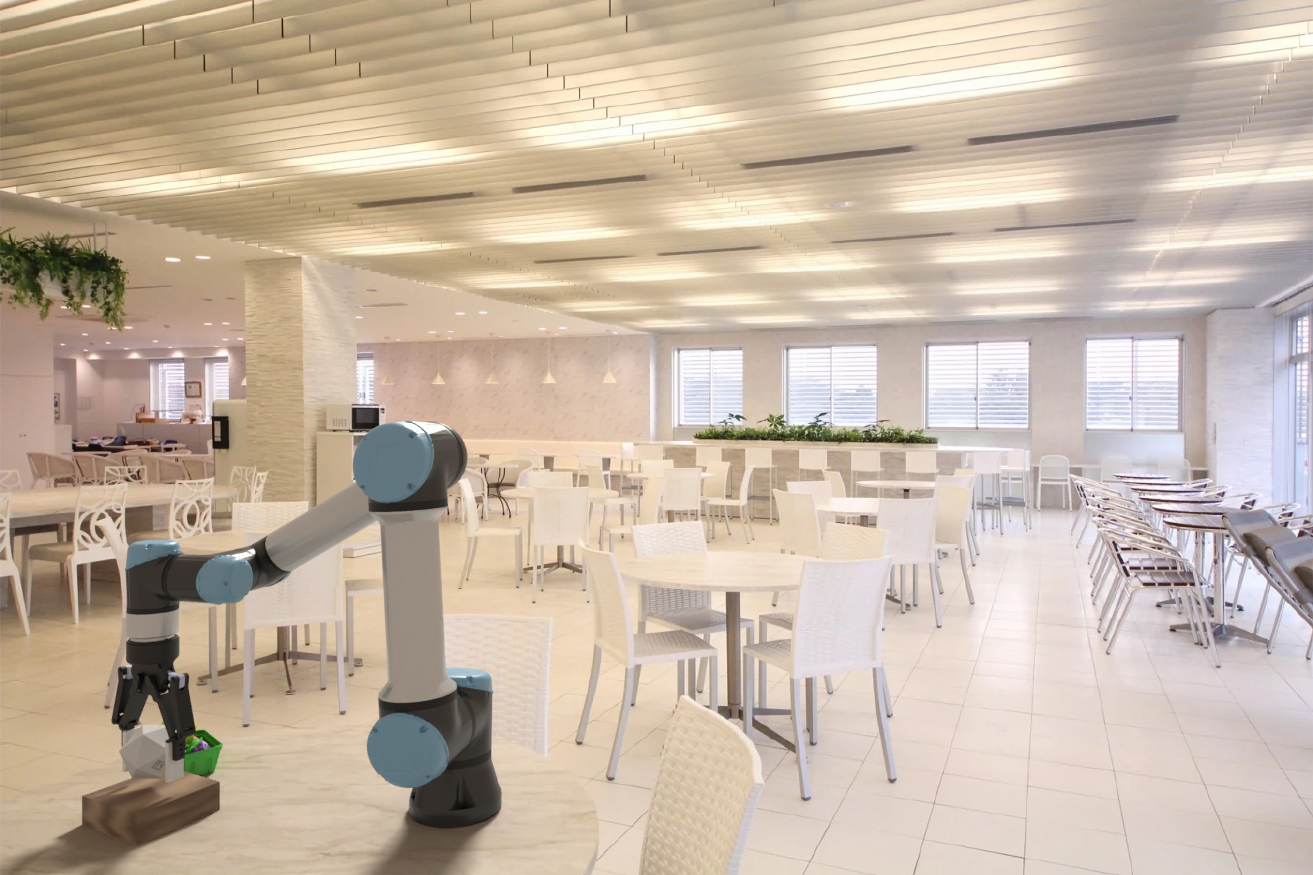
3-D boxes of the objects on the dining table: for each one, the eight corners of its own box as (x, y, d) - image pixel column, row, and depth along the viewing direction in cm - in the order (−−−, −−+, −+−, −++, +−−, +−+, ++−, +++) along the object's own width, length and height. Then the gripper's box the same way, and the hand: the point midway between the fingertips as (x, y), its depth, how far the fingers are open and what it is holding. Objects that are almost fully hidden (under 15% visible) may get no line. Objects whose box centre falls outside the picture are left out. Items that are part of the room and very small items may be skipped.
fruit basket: (224, 772, 162) (225, 710, 162) (171, 785, 156) (171, 721, 156) (203, 754, 170) (204, 696, 170) (152, 767, 164) (152, 706, 164)
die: (138, 794, 137) (181, 739, 140) (97, 763, 139) (140, 709, 142) (165, 792, 145) (205, 740, 148) (126, 763, 146) (166, 711, 149)
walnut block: (219, 811, 147) (219, 781, 146) (137, 847, 134) (137, 814, 134) (165, 794, 153) (165, 765, 153) (82, 827, 140) (82, 795, 140)
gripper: (221, 638, 142) (221, 777, 142) (129, 624, 151) (129, 754, 151) (179, 649, 135) (179, 795, 135) (85, 633, 144) (85, 770, 144)
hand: (152, 773), depth 143 cm, fingers closed on die, 9 cm apart
